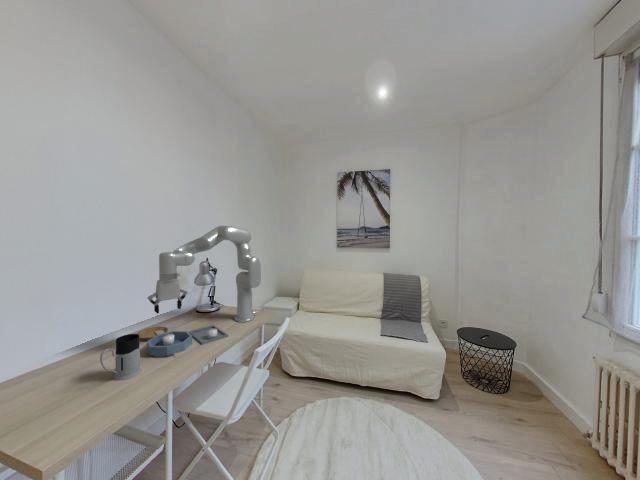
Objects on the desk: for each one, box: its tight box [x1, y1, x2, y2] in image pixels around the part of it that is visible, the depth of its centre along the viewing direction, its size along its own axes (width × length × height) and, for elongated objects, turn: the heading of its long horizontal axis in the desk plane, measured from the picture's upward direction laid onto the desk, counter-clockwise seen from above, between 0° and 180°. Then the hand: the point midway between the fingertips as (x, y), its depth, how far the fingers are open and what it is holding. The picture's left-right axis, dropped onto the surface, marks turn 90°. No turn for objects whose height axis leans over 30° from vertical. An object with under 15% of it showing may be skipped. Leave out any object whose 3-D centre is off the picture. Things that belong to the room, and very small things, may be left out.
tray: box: [188, 324, 229, 345], centre depth 137 cm, size 14×19×2 cm
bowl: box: [146, 330, 193, 358], centre depth 123 cm, size 18×18×5 cm
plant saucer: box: [135, 326, 169, 341], centre depth 136 cm, size 15×15×3 cm
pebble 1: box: [163, 334, 174, 346], centre depth 126 cm, size 5×5×4 cm
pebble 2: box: [207, 329, 217, 340], centre depth 134 cm, size 5×5×4 cm
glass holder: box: [99, 333, 142, 381], centre depth 98 cm, size 9×14×15 cm, turn 164°
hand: (168, 310), depth 125 cm, fingers open, 9 cm apart
